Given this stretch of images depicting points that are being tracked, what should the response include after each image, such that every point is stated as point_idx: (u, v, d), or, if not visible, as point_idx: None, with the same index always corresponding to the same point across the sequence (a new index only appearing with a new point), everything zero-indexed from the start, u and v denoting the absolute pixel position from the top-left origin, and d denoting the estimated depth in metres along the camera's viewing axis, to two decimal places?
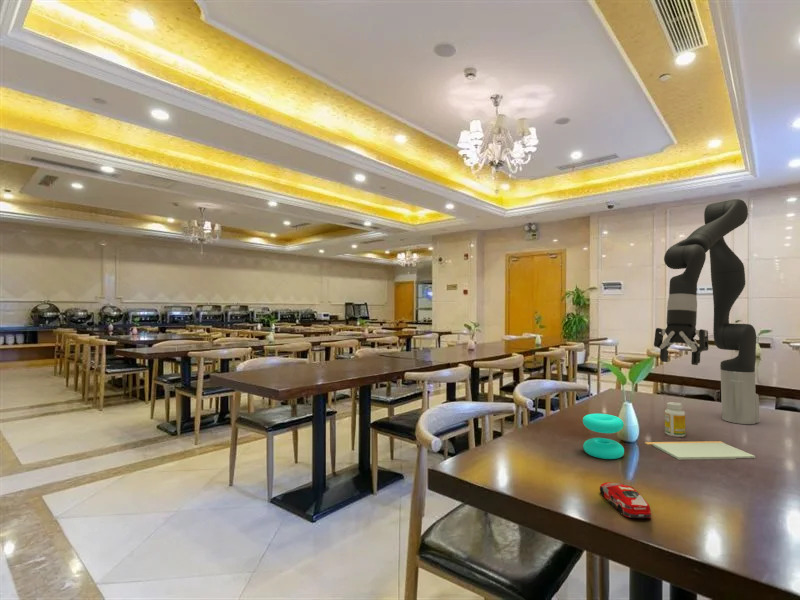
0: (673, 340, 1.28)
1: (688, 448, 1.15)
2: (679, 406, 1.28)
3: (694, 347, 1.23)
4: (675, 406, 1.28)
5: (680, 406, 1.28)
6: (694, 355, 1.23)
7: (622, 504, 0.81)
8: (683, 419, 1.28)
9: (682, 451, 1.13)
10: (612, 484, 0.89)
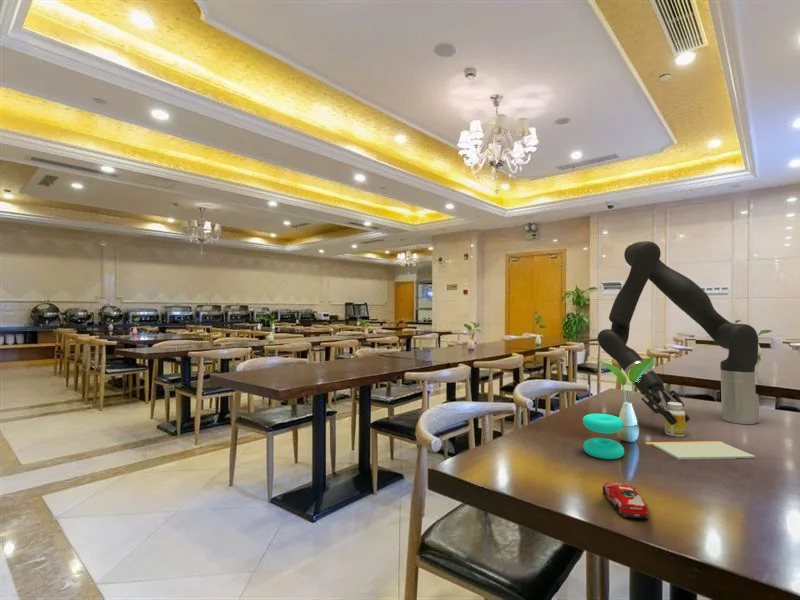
0: None
1: (688, 448, 1.15)
2: (679, 406, 1.28)
3: None
4: (675, 406, 1.28)
5: (680, 406, 1.28)
6: None
7: (619, 503, 0.81)
8: (683, 419, 1.28)
9: (682, 451, 1.13)
10: (614, 484, 0.89)
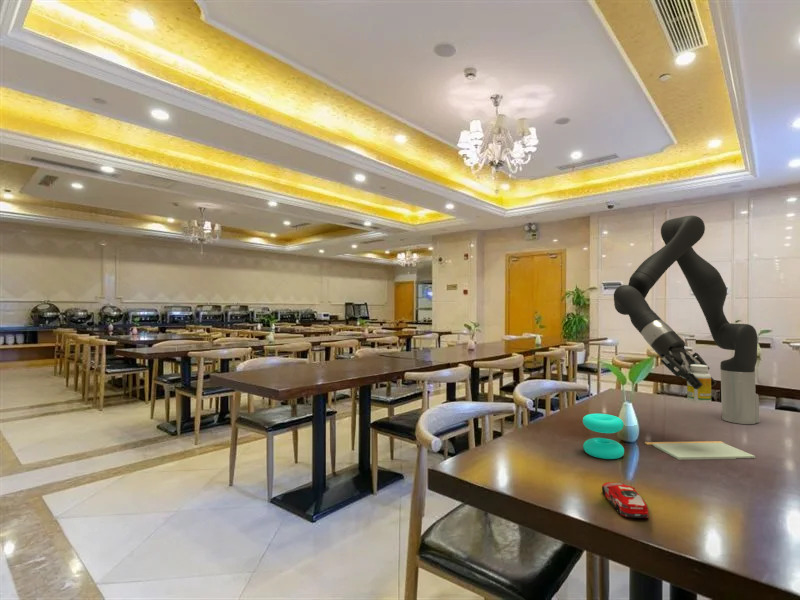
0: None
1: (688, 448, 1.15)
2: (704, 368, 1.13)
3: None
4: (700, 368, 1.13)
5: (705, 368, 1.13)
6: None
7: (619, 503, 0.81)
8: (709, 382, 1.12)
9: (682, 451, 1.13)
10: (614, 484, 0.89)
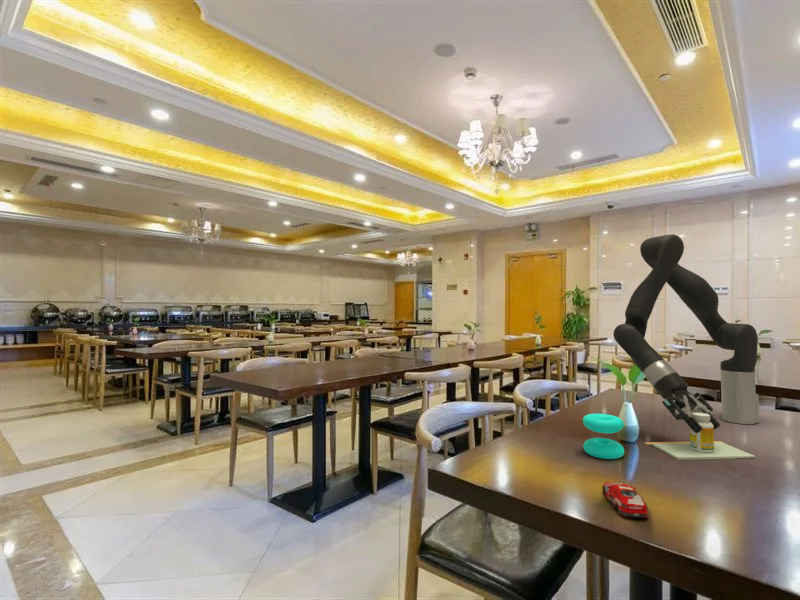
0: None
1: (688, 448, 1.15)
2: (706, 417, 1.12)
3: None
4: (702, 417, 1.13)
5: (708, 417, 1.12)
6: None
7: (618, 503, 0.81)
8: (711, 432, 1.12)
9: (682, 451, 1.13)
10: (614, 483, 0.89)
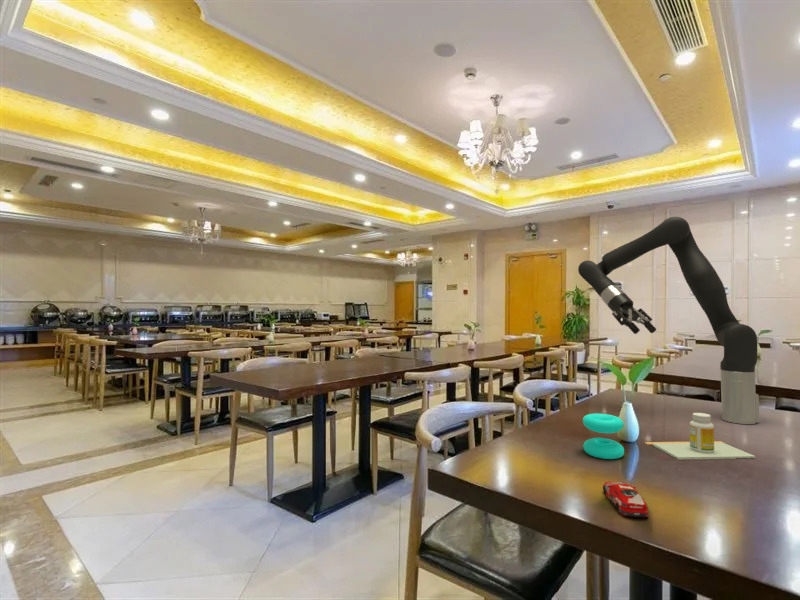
0: None
1: (688, 448, 1.15)
2: (707, 418, 1.12)
3: None
4: (702, 418, 1.12)
5: (708, 418, 1.12)
6: (630, 328, 1.48)
7: (619, 502, 0.81)
8: (712, 433, 1.12)
9: (682, 451, 1.13)
10: (615, 483, 0.89)
